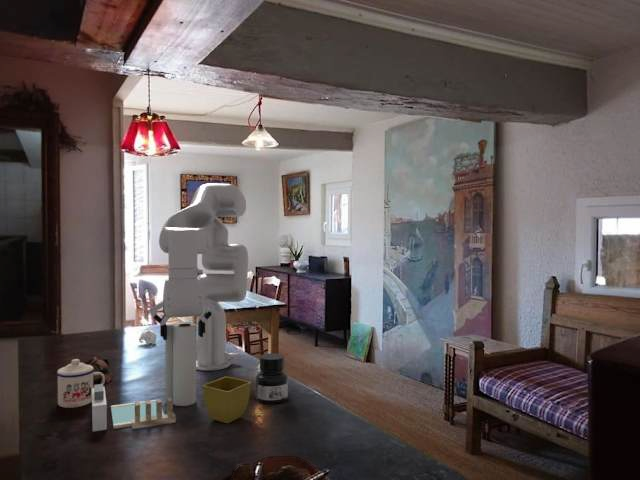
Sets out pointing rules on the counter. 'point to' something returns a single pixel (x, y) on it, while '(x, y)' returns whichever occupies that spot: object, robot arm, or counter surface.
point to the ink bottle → (271, 379)
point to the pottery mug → (100, 366)
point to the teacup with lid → (76, 384)
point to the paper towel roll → (180, 364)
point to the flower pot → (226, 398)
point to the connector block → (99, 408)
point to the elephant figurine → (148, 336)
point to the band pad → (129, 413)
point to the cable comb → (153, 420)
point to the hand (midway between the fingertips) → (183, 337)
